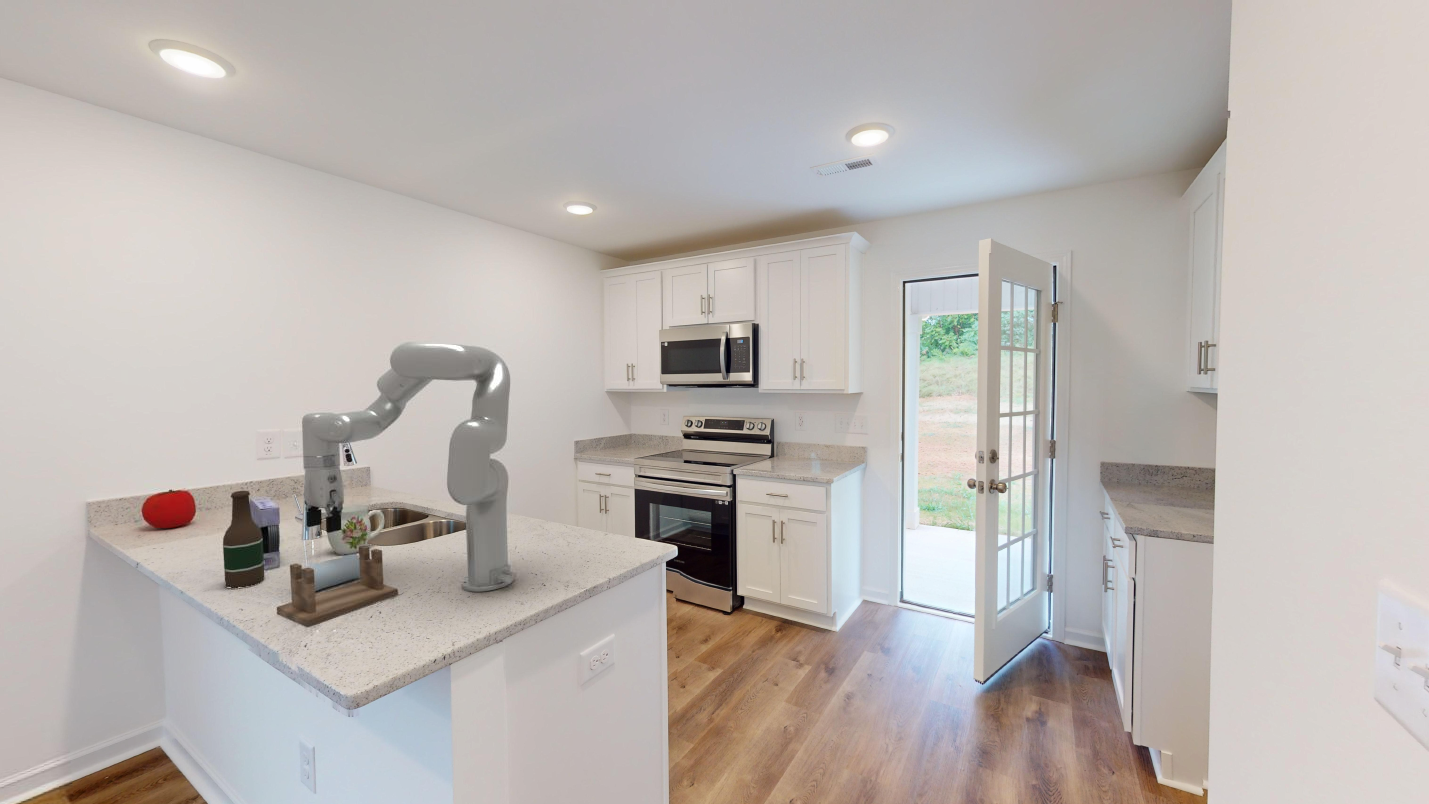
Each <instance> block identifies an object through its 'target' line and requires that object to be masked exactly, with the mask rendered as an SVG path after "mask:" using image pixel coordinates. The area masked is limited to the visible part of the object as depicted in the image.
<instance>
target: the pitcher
mask: <svg viewBox="0 0 1429 804" xmlns="http://www.w3.org/2000/svg"><path fill="white" fill-rule="evenodd" d="M342 507H343V509H342V514H341V530H339V531H335V532H330V533H327V532H326V533H327V539H328V542H329V543H328V544H329V545H330V547H331V549H332V550H333V551H334V552H335V553H336V554H337V555H339V554H340V555H343V556H345V555H344V554H347V555H351V554H352V553H353V554H356V553H359V547H360V546H367V545H368V541H370V540H371V539H373V538H376V537H377V536H378V535H379V534H380V533H381V532H382V531H383V530H384V526H385V516H384V513H383V512H382V511H381V510H378V509H373V510H370V511H369V505H367V504H350V505H349V504H348V505H343V506H342ZM330 510H332V508H330ZM321 515H322V516H323V517H325V518H326V517H328V515H327V513H326V511H325V509H323V510H322V509H321ZM373 515H377V516H378V518H379V526H378V527H377V528H376V529H375V530H374V532H372V533H371V531H372V530H371V527H372V525H371V521H370V517H372V516H373Z"/></svg>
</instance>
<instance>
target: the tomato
mask: <svg viewBox="0 0 1429 804" xmlns="http://www.w3.org/2000/svg"><path fill="white" fill-rule="evenodd" d="M185 489H186V488H182V489H177V490H173V489H169V490H168V491H163V492H162V491H161V492H157V493H155V494H152V495H149V497H147V498H146V500H145V501H144V502H143V504H142V507H141V516H142V519H143V520H144V521H145V522H146V523H147V524H148V525H149V526H150V527H153V528H155V529H173V528H178V527H181V526H186V525H188V524H190V523H191V522H192V521H193V519H194V518H195V516H196V513H197V509H196V508H197V507H196V501H195V498H194V496H193V495H192V494H191V492H189V491H187V490H185Z"/></svg>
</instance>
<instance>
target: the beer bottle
mask: <svg viewBox="0 0 1429 804" xmlns="http://www.w3.org/2000/svg"><path fill="white" fill-rule="evenodd" d="M250 495H251V493H250V491H249V490H236V491H234V492H232V493H231V495H230V498H232V502H231V503H232V504H231V505H232V507H231V514H232V515H231V520H230V524H229V527H228V528H227V529H226V531H225V533H224V536H223V538H222V539H223V540H222V549H223V550H222V552H223V553H222V554H223V555H222V556H223V569H224V583H225V588H227V587H231V588H238V587H246V586H250V587H252V586H251V585H253V586H255V584H256V585H259V584H261V583H262V582H263V581H264V579H265V571H264V554H263V537H262V531H261V530H260V528H259V526H258V525H257V524H256V523H255V522H254V521H253V519H252V516H251V509H250ZM262 580H263V581H262ZM261 581H262V582H261ZM260 582H261V583H260ZM258 583H259V584H258ZM246 588H247V587H246Z"/></svg>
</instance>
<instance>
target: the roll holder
mask: <svg viewBox="0 0 1429 804" xmlns="http://www.w3.org/2000/svg"><path fill="white" fill-rule="evenodd" d="M358 557H359V564H360V577H359V581H358V580H357V581H355V582H352V583H350V584H345V585H342V586H339V587H335V588H333V589H329V590H326V591H322V592H320V593H316V591H315V581H314V569H312V568H309V567H308V568H304V569H302V568H303V566H302V564H299V563H293V564H289V572H290V593H291V602H289V603H286V604H285V603H284V604H282V605H279V606H278V605H277V606H276V614H277V615H280V616H282V617H284V618H287V619H289V620H290V621H293V622H296V623H298V624H300V625H303V626H305V627H307V628H309V627H312V626H315V625H317V624H321V623H324V622H326V621H329V620H332V619H335V618H337V617H340V615H341V616H343V615H345V614H349V613H351V611H352V612H354V610H355V611H358V610H360V609H362V607H363V608H365V606H366V607H368V606H367V605H369V606H371V605H373V603H374V604H377V603H379V602H378V601H380V602H383V601H384V599H385V600H387V598H388V599H390V597H391V598H394V597H396V595H397V596H399V589H398V587H394V586H390V585H387V584H384V567H383V550H382V549H380V548H374V549H370V546H367V545H366V546H360V547H359V552H358ZM393 596H394V597H393ZM382 600H383V601H382ZM376 602H377V603H376ZM370 604H371V605H370Z"/></svg>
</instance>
